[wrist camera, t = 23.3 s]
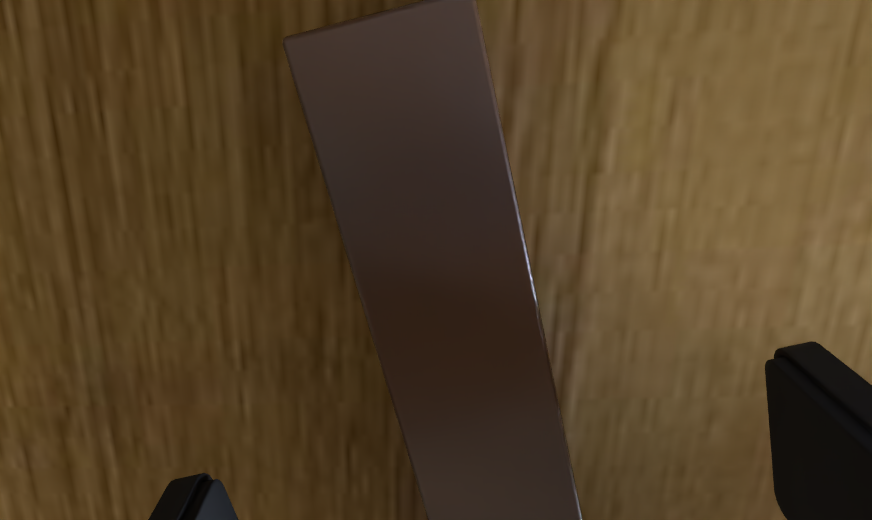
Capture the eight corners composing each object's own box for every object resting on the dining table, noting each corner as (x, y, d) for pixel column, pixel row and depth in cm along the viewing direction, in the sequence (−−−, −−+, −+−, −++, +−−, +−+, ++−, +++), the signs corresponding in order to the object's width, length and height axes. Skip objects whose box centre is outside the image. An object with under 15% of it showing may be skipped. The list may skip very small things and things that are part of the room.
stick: (311, 37, 10) (278, 38, 8) (462, -2, 10) (473, -13, 8) (513, 730, 15) (528, 851, 13) (613, 711, 15) (647, 831, 13)
